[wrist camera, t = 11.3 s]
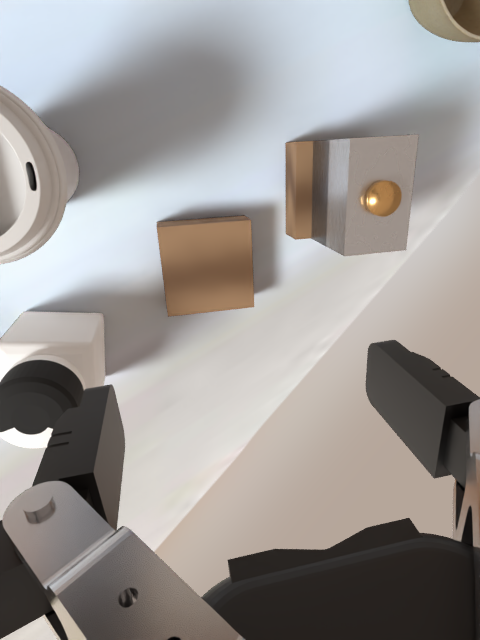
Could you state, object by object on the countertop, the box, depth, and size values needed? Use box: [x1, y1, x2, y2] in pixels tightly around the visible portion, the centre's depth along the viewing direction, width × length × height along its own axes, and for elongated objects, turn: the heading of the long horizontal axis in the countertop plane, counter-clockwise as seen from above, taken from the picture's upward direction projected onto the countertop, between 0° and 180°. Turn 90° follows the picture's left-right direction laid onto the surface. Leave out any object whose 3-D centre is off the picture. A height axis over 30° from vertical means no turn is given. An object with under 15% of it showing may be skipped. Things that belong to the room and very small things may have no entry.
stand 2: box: [286, 140, 324, 239], centre depth 36 cm, size 8×8×3 cm
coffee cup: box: [0, 86, 79, 264], centre depth 26 cm, size 10×10×15 cm
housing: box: [311, 135, 419, 256], centre depth 31 cm, size 8×5×8 cm, turn 3°
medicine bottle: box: [0, 311, 106, 448], centre depth 33 cm, size 7×7×12 cm
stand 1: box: [157, 215, 254, 317], centre depth 37 cm, size 8×8×3 cm
